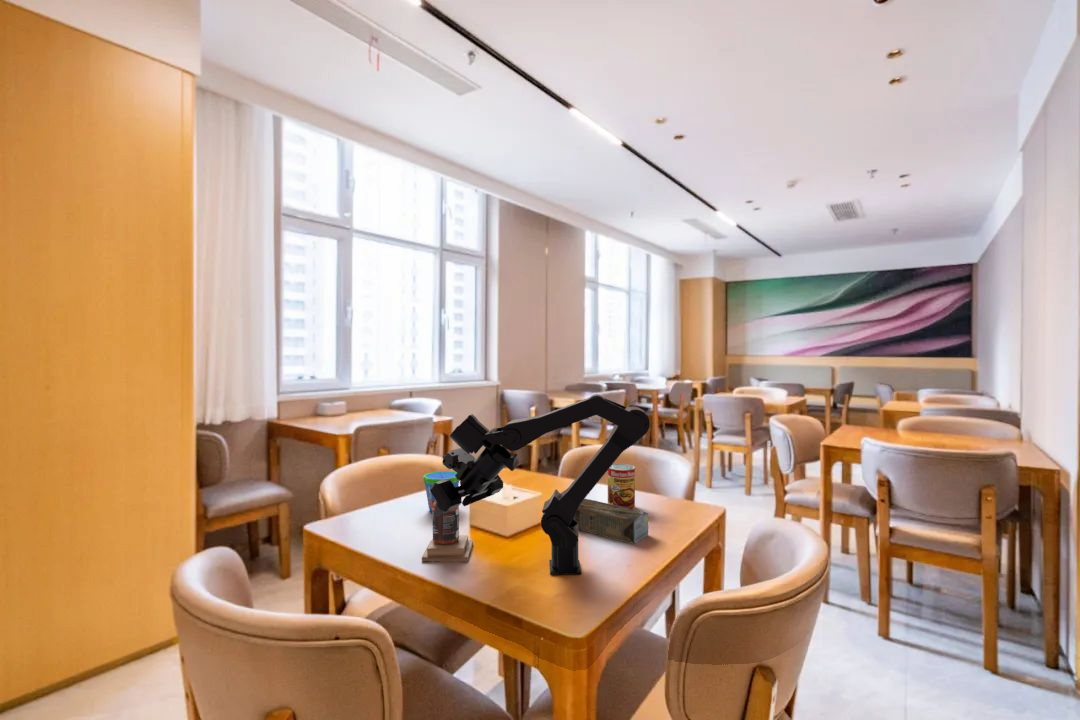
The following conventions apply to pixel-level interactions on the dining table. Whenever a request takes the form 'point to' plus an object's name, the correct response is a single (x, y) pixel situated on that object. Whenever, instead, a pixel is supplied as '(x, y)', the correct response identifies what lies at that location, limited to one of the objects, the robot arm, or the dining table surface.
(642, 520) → the beverage carton
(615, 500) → the canned food
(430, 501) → the snack cup
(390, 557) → the dining table surface
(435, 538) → the supplement bottle
